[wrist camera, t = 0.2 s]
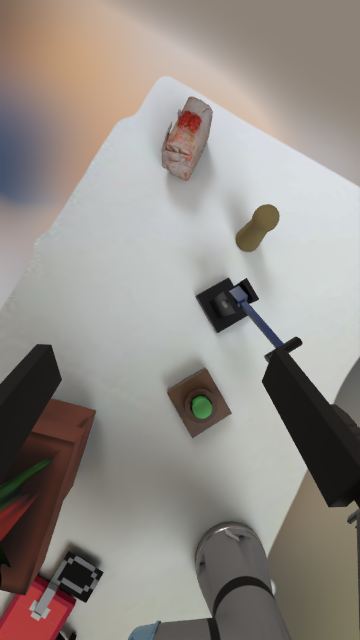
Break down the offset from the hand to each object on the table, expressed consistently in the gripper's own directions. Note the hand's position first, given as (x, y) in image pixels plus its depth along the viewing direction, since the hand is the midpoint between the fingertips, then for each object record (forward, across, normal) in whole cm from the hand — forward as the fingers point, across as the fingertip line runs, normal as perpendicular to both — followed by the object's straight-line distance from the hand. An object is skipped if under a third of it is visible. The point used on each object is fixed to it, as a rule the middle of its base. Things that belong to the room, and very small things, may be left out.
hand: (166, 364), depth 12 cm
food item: (+55, -4, -19) cm, 58 cm away
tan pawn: (+43, -20, -2) cm, 48 cm away
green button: (+18, -8, +28) cm, 34 cm away
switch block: (+21, -8, +30) cm, 38 cm away
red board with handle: (-3, +23, +68) cm, 72 cm away
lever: (+21, -16, +9) cm, 28 cm away
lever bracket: (+34, -14, +12) cm, 38 cm away
